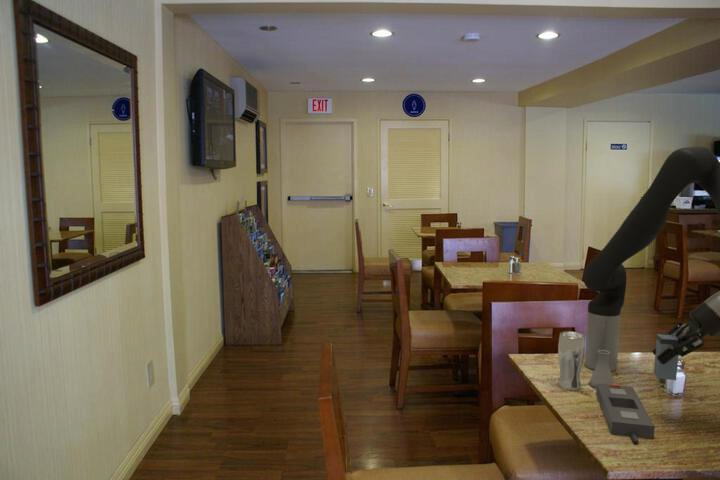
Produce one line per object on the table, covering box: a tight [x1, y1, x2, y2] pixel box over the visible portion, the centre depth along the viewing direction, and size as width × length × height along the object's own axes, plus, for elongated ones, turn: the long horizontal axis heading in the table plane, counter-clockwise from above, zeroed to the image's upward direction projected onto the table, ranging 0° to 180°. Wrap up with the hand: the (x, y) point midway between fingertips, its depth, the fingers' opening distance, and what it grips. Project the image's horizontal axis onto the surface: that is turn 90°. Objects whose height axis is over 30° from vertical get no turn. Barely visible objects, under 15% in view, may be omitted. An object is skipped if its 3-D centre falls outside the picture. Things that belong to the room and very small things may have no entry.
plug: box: [653, 333, 679, 381], centre depth 139 cm, size 4×4×10 cm
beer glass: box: [557, 331, 586, 391], centre depth 160 cm, size 7×7×15 cm
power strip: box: [595, 383, 655, 445], centre depth 141 cm, size 28×9×4 cm, turn 166°
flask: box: [588, 350, 616, 389], centre depth 162 cm, size 7×7×10 cm
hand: (657, 357), depth 140 cm, fingers closed on plug, 4 cm apart
